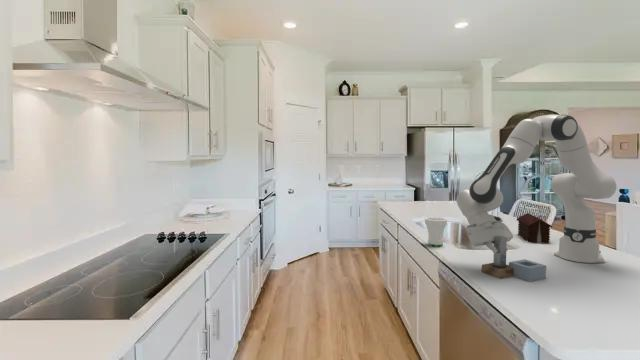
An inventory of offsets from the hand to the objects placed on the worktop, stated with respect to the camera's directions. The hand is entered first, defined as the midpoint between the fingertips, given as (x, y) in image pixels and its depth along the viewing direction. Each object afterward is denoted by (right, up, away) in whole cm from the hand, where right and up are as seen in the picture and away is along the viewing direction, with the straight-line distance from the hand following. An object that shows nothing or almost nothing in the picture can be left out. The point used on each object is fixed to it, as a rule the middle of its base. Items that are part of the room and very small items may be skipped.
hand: (501, 252), depth 142 cm
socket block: (0, -9, +1) cm, 9 cm away
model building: (+48, -5, +60) cm, 77 cm away
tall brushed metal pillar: (0, -8, +1) cm, 8 cm away
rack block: (+9, -9, -2) cm, 13 cm away
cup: (-11, -6, +47) cm, 49 cm away
